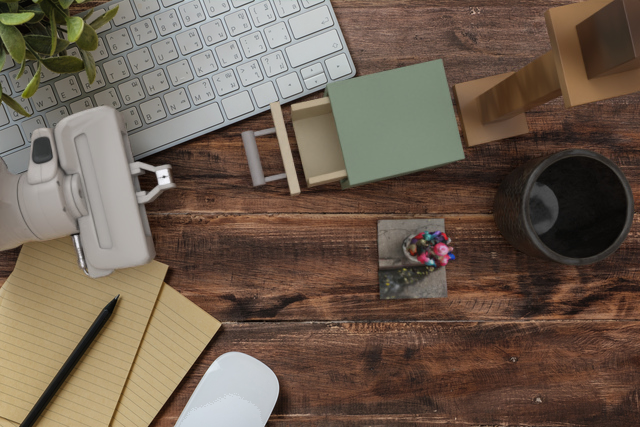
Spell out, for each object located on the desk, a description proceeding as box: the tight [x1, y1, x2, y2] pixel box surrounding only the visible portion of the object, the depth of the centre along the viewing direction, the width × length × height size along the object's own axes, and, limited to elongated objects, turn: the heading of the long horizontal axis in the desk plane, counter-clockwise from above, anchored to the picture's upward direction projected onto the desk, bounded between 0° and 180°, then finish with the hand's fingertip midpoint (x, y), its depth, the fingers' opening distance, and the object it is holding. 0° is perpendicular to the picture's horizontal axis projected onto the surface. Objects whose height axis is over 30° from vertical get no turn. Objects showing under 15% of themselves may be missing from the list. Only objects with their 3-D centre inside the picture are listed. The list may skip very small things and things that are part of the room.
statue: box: [376, 218, 456, 300], centre depth 61 cm, size 11×9×15 cm
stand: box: [451, 0, 640, 148], centre depth 56 cm, size 9×9×26 cm
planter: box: [492, 148, 635, 267], centre depth 63 cm, size 14×14×13 cm
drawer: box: [240, 96, 348, 198], centre depth 62 cm, size 18×11×8 cm, turn 103°
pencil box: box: [576, 0, 640, 80], centre depth 40 cm, size 5×5×6 cm
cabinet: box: [322, 58, 466, 191], centre depth 63 cm, size 15×13×10 cm
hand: (173, 175), depth 60 cm, fingers closed
